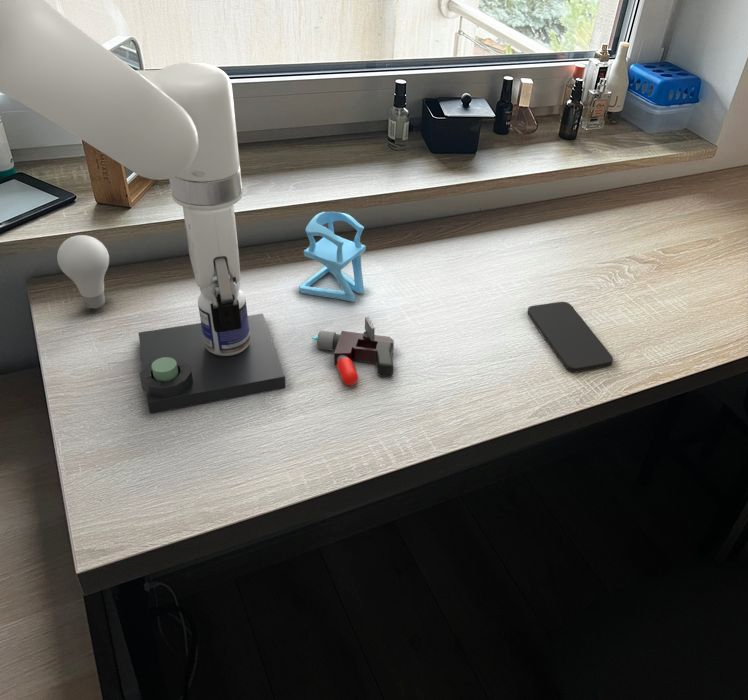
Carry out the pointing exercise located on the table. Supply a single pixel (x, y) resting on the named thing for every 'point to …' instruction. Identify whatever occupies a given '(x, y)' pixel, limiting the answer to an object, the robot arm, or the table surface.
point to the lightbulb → (85, 267)
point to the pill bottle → (225, 340)
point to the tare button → (164, 369)
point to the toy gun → (358, 351)
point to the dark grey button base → (208, 367)
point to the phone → (569, 336)
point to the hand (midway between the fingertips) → (223, 313)
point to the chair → (334, 256)
